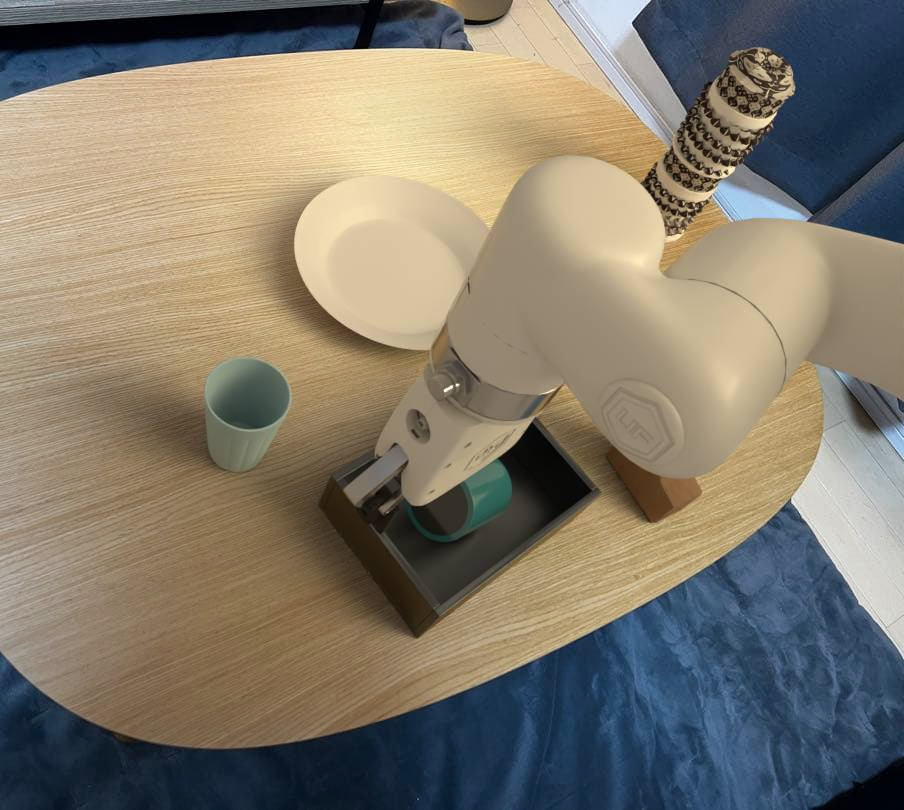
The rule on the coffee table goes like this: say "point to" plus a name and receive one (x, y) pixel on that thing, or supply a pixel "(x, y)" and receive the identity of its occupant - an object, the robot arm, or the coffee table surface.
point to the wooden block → (654, 488)
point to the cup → (244, 410)
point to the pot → (464, 505)
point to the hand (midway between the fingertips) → (415, 485)
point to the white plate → (387, 256)
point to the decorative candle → (718, 135)
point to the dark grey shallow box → (473, 555)
